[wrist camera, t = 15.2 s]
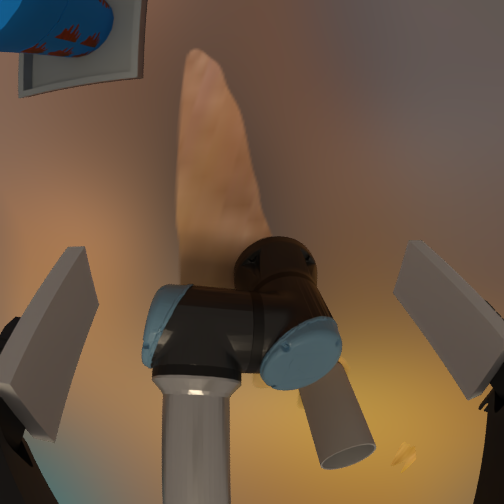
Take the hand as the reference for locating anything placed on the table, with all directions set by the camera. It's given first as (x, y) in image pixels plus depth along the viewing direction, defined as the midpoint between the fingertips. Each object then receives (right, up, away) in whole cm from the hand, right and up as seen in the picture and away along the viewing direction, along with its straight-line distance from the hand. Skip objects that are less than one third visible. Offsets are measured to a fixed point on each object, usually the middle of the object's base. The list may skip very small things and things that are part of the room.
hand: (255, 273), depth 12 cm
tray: (-26, +35, +21) cm, 48 cm away
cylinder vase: (+17, -31, +64) cm, 73 cm away
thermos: (-25, +35, +21) cm, 48 cm away
